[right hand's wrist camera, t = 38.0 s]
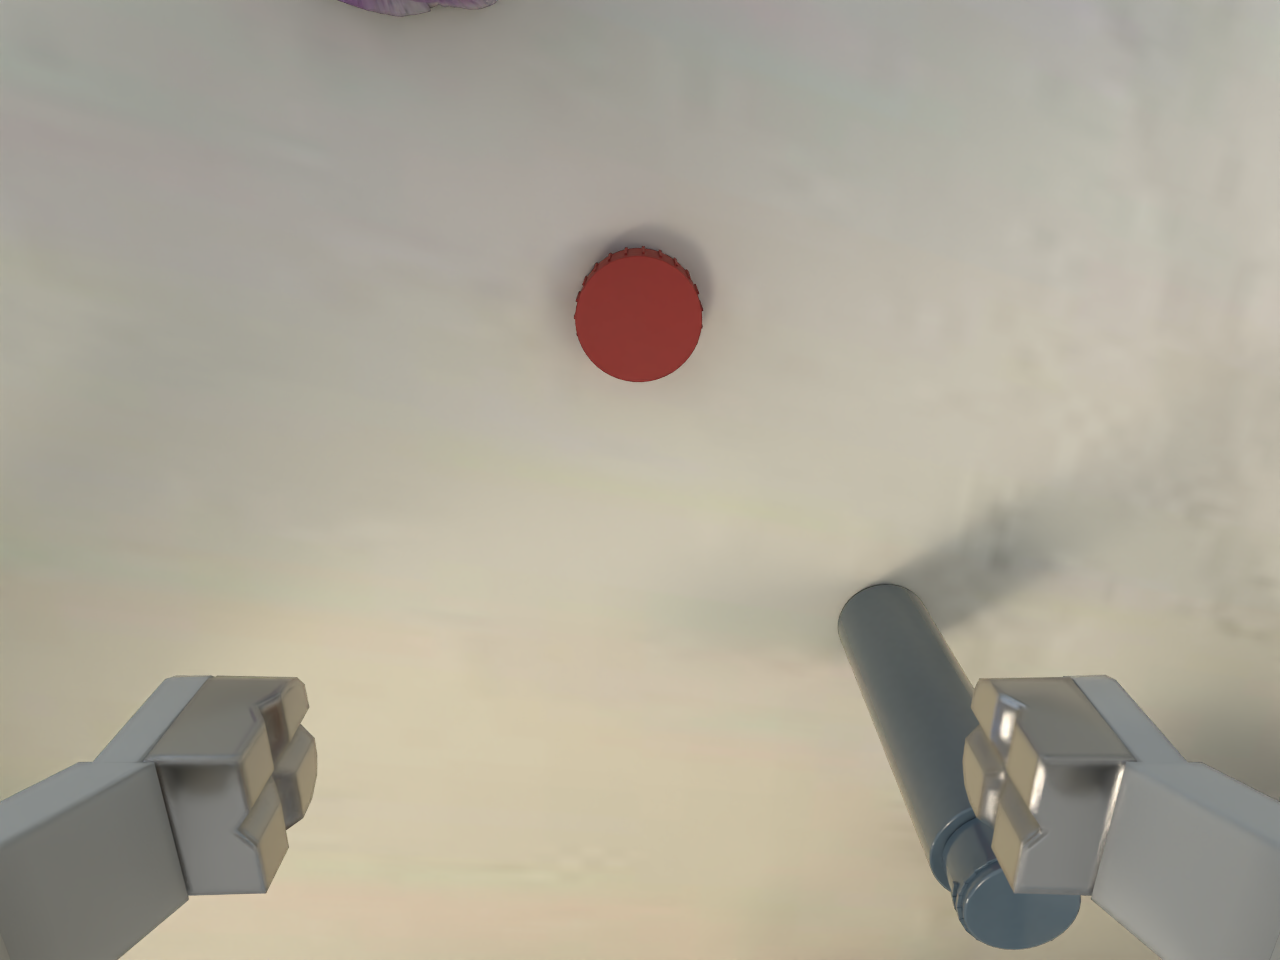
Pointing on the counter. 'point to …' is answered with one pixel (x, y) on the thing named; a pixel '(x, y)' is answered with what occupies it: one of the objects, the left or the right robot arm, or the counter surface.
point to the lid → (638, 315)
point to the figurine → (414, 5)
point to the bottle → (939, 763)
